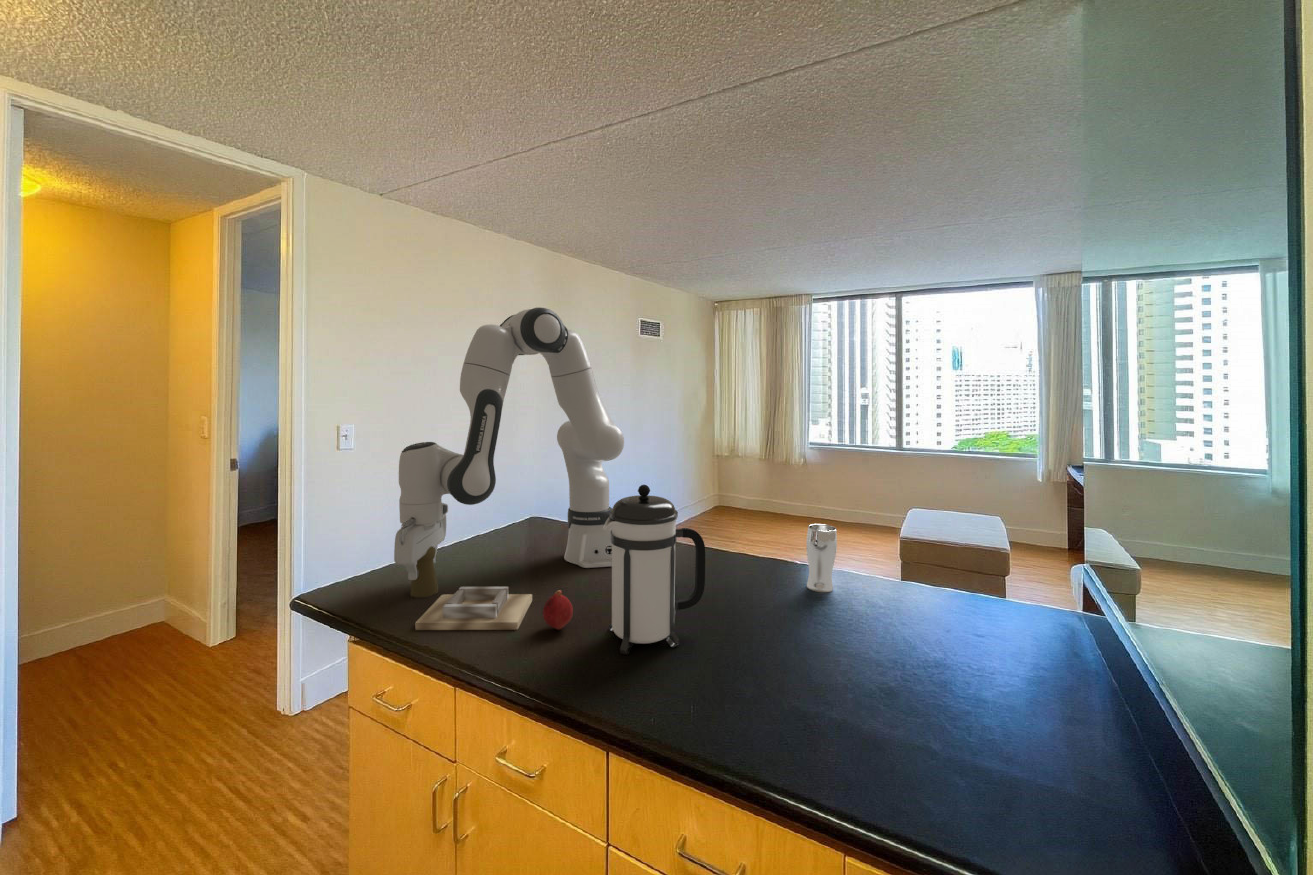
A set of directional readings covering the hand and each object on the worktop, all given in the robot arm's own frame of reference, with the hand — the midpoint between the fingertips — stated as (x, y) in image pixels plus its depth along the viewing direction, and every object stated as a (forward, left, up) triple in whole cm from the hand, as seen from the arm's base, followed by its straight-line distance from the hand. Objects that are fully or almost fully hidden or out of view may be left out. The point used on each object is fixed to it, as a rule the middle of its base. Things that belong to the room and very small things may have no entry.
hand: (422, 571), depth 120 cm
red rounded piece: (-34, +19, -5) cm, 39 cm away
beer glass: (-94, -2, -5) cm, 94 cm away
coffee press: (-52, +22, -5) cm, 57 cm away
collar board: (-16, +12, -5) cm, 21 cm away
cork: (0, 0, -5) cm, 5 cm away
